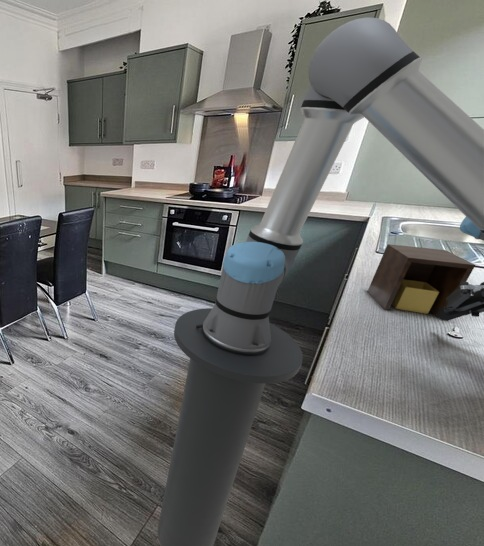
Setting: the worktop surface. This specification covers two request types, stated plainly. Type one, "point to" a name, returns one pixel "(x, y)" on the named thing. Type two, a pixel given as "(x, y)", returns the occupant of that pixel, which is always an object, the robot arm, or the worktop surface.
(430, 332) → the worktop surface
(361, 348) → the worktop surface
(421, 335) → the worktop surface
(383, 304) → the shelf
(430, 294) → the basket
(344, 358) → the worktop surface
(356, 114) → the robot arm
